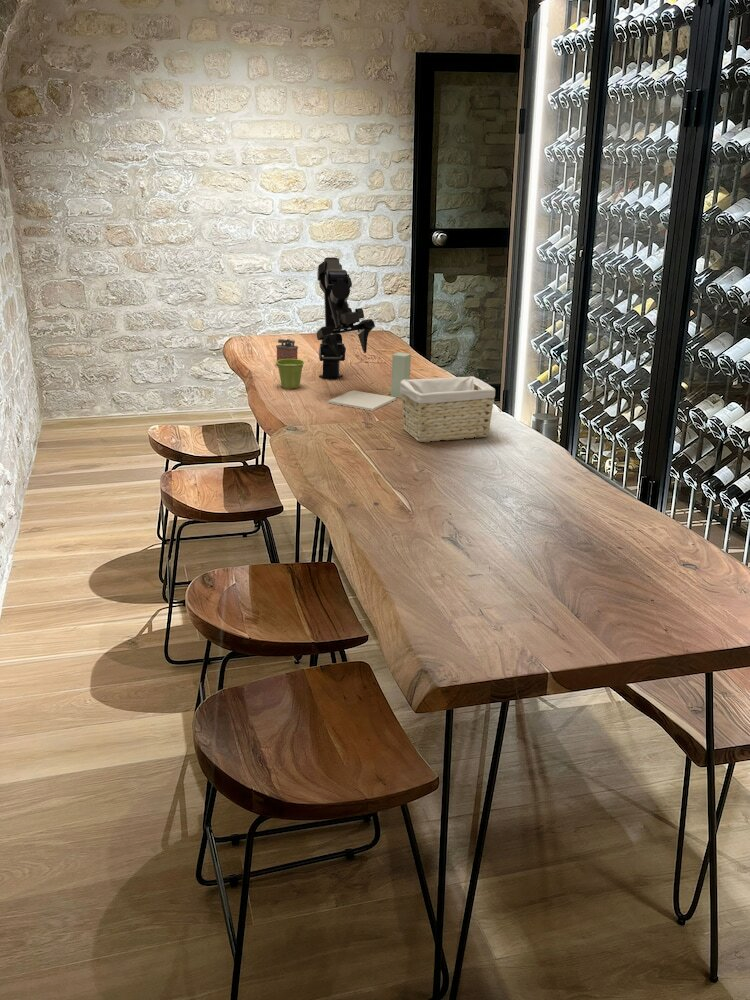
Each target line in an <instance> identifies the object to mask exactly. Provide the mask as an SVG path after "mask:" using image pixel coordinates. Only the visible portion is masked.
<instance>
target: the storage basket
mask: <svg viewBox="0 0 750 1000" xmlns="http://www.w3.org/2000/svg"><path fill="white" fill-rule="evenodd" d="M400 386H401V388H400V392H401V395H402V399H401V405H402V406H401V407H402V418H403V421H402V422H403V426H402V427H403V430H404V431H405V432H407V433H408V434H409V435H410V436H412V437H414V439H415V440H416V441H418V442H419V443H431V442H430V441H432V442H441V441H440V440H446V441H450V440H452V441H453V440H465V439H464V438H466V439H473V438H474V437H475V438H486V437H489V433H490V428H491V420H492V415H493V414H492V413H493V408H494V404H495V398H496V388H495V387H493V386H491V385H490V384H488V383H487V382H485V381H483V380H482V379H479V378H477V377H475V376H470V375H469V376H453V377H451V376H450V377H438V378H417V379H415V378H414V379H410V380H402V381H401V382H400Z"/></svg>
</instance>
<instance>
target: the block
mask: <svg viewBox="0 0 750 1000" xmlns="http://www.w3.org/2000/svg"><path fill="white" fill-rule="evenodd" d="M391 359H392V361H391V383H390V397H391V396H392V397H398V398H397V399H401V398H402V395H401V392H400V388H401V386H400V382H401V381H402V380H411V365H412V364H411V362H412V354H411V353H405V352H400V351H398V352H396V353H393V354H392V357H391Z"/></svg>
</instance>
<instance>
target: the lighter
mask: <svg viewBox="0 0 750 1000" xmlns="http://www.w3.org/2000/svg"><path fill="white" fill-rule="evenodd" d="M277 343H278V344H277V345H276V346H275V348H276V361H278V360H281V359H298V350H299V346H298V345H295V344H296V342H295V339H290V338H287V339H285V338H284V339H283V338H278V340H277ZM275 364H276V367H278V365H277V363H276V362H275Z"/></svg>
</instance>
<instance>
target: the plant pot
mask: <svg viewBox="0 0 750 1000" xmlns="http://www.w3.org/2000/svg"><path fill="white" fill-rule="evenodd" d="M276 363H277V365H278V366H277V368H278V372H279V381H280V385H281V388H283V389H285V388H286V390H293V389H299V388H300V386H301V385H300V384H301V378H302V371H303V368H304V364H305V361H304V360H302V359H299V358H297V359H281V360H278V361H277V360H276V362H275V364H276Z"/></svg>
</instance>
